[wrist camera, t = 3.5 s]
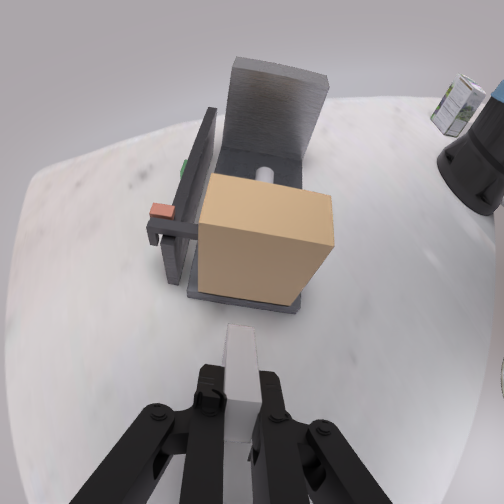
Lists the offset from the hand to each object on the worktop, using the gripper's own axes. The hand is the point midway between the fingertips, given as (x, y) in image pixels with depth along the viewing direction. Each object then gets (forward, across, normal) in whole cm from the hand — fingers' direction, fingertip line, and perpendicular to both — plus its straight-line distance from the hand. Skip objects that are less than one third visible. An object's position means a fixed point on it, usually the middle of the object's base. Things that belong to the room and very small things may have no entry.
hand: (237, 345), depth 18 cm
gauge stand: (+18, 0, +6) cm, 19 cm away
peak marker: (+8, -7, +4) cm, 11 cm away
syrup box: (+43, +42, +31) cm, 67 cm away
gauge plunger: (+12, -1, +3) cm, 12 cm away
